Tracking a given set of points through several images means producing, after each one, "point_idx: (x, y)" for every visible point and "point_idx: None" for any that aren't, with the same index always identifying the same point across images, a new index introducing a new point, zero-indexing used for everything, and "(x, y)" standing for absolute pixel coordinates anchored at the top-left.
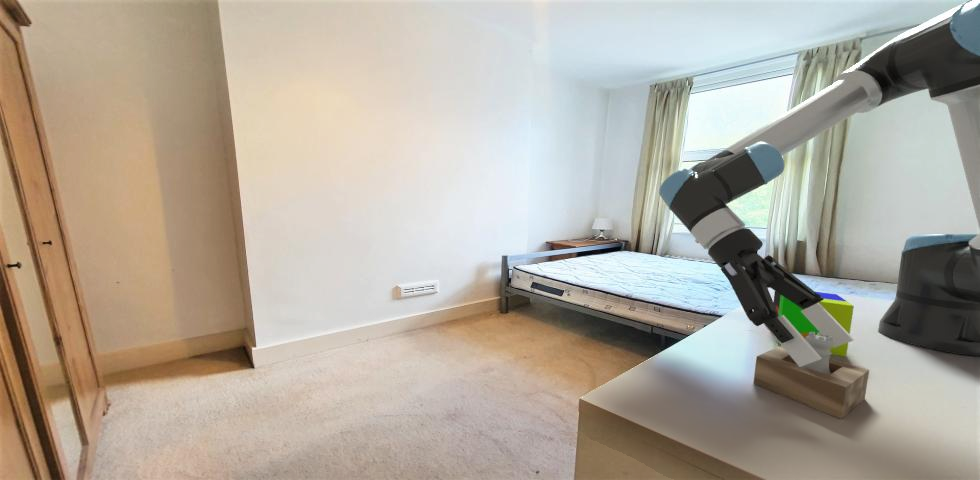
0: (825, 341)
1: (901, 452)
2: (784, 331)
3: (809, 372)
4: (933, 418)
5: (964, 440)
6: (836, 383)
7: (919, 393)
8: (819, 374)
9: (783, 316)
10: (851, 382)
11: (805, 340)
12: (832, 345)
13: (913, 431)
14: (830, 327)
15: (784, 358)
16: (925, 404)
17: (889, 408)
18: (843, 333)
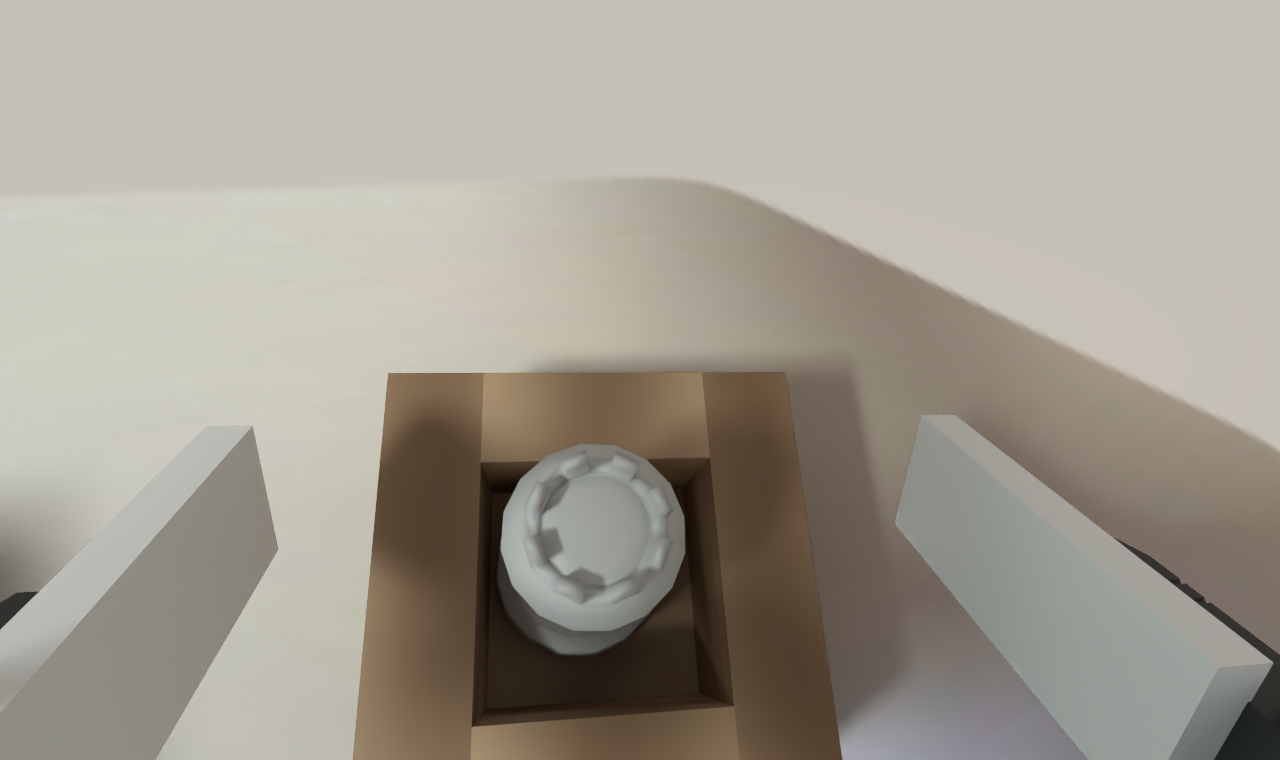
0: (647, 478)
1: (780, 278)
2: (1184, 587)
3: (773, 524)
4: (379, 257)
5: (494, 192)
6: (785, 407)
7: (87, 319)
8: (752, 485)
9: (1231, 651)
10: (700, 374)
11: (1007, 484)
12: (618, 448)
13: (582, 279)
14: (188, 575)
15: (668, 709)
16: (233, 289)
17: (435, 355)
18: (224, 478)
